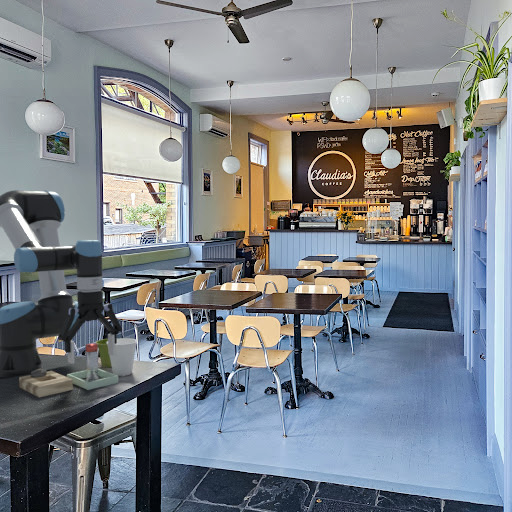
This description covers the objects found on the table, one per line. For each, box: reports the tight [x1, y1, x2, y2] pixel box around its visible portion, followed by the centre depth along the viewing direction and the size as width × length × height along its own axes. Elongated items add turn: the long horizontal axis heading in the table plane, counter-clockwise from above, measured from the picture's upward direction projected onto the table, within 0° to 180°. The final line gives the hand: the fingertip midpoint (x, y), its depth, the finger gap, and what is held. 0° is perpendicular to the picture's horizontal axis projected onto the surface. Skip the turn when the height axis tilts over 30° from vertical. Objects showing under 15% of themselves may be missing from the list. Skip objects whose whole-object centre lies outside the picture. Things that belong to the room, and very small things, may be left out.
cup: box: [106, 337, 138, 377], centre depth 180 cm, size 10×10×11 cm
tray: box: [66, 368, 119, 391], centre depth 168 cm, size 13×10×3 cm
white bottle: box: [84, 342, 100, 382], centre depth 168 cm, size 4×4×12 cm
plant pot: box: [95, 338, 112, 368], centre depth 191 cm, size 9×9×9 cm
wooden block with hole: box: [18, 369, 74, 398], centre depth 162 cm, size 14×10×6 cm
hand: (91, 358), depth 168 cm, fingers open, 13 cm apart
